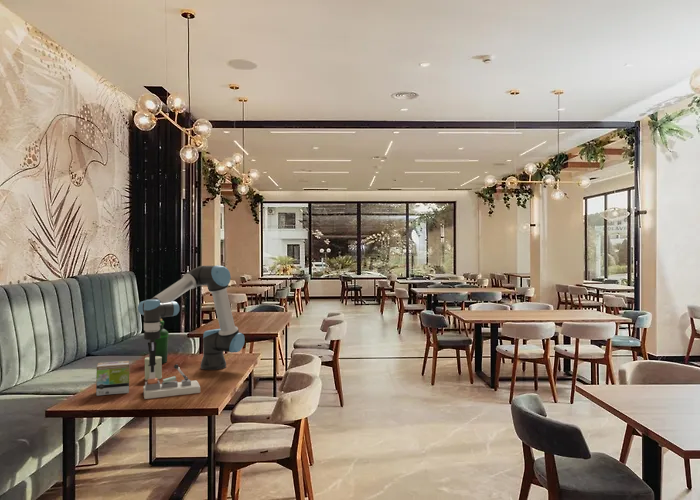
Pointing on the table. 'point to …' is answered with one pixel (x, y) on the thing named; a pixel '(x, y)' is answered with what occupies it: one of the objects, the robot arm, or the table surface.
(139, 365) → the table surface
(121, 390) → the tea box
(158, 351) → the bottle
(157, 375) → the can
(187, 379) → the toggle lever
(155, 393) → the switch panel
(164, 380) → the rocker switch
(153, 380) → the push button
